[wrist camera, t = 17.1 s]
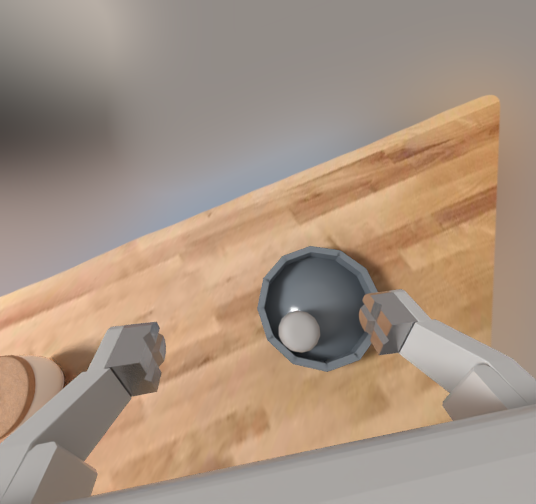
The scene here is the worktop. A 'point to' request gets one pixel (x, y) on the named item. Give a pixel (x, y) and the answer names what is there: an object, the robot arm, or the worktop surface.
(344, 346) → the bowl
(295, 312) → the salt shaker
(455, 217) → the worktop surface
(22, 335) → the worktop surface
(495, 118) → the worktop surface
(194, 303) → the worktop surface
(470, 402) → the robot arm
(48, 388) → the lidded jar
